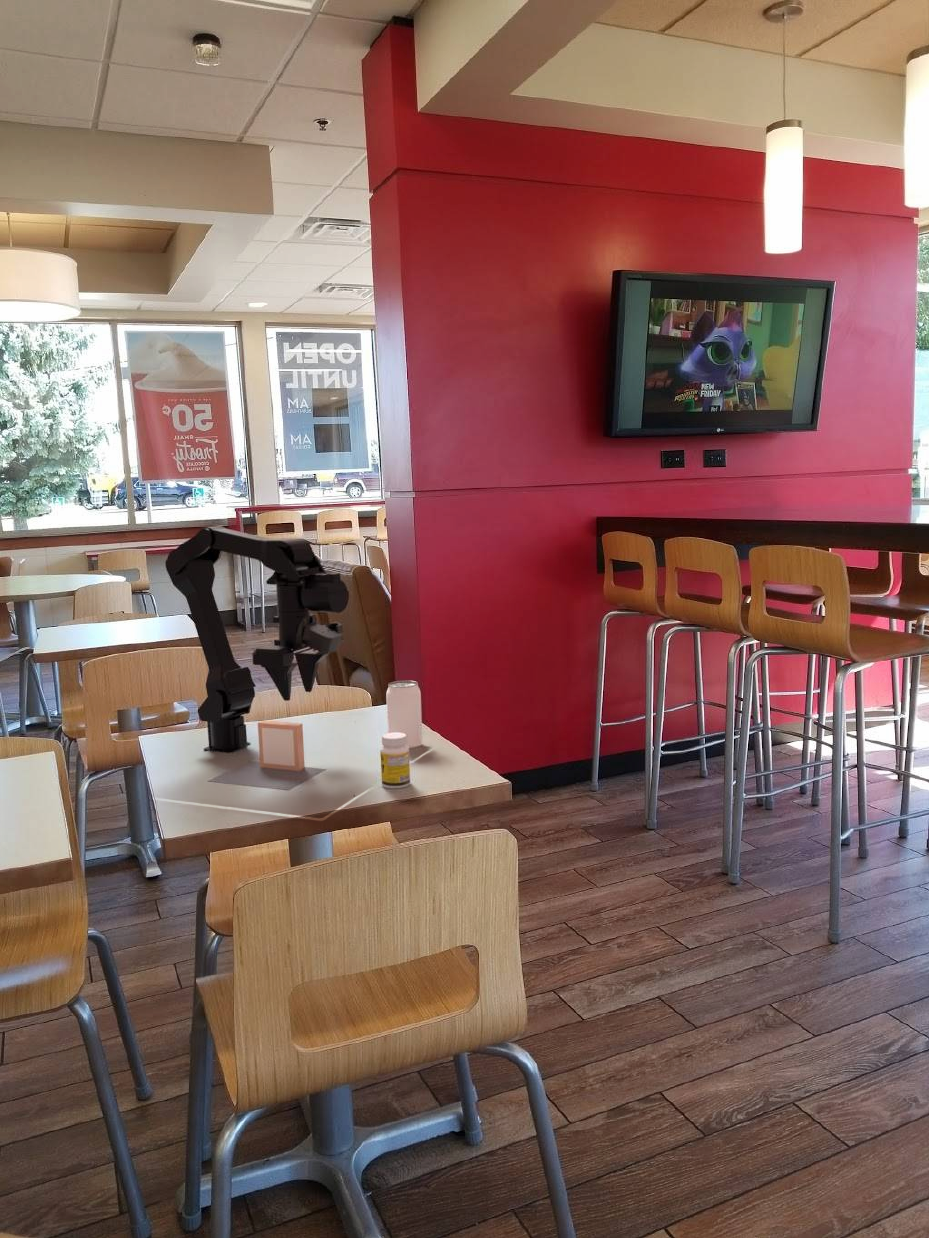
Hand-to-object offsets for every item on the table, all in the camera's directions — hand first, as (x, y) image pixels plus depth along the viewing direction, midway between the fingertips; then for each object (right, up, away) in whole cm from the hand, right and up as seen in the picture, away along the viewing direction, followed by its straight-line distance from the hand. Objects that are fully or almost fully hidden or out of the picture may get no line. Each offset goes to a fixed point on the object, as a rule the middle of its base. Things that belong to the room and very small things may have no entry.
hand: (297, 696), depth 169 cm
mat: (-4, -13, -8) cm, 16 cm away
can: (+19, -10, +10) cm, 23 cm away
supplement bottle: (+19, -14, -14) cm, 27 cm away
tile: (-2, -12, -4) cm, 13 cm away
